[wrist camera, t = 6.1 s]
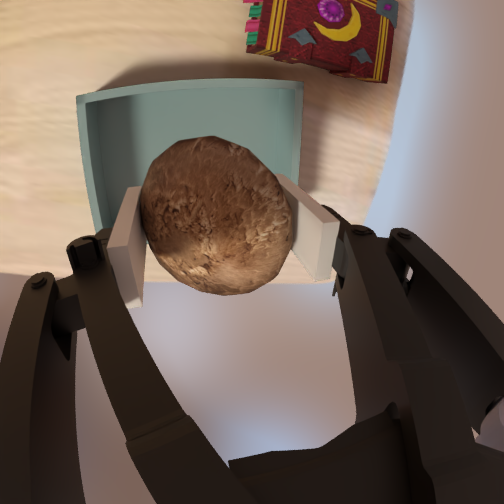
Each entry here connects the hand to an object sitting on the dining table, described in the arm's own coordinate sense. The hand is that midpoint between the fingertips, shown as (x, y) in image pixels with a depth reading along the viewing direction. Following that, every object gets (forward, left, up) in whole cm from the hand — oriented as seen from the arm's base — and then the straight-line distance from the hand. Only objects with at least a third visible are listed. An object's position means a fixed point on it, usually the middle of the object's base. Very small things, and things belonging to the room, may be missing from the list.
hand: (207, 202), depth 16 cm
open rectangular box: (0, 0, -15) cm, 15 cm away
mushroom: (0, 0, -1) cm, 1 cm away
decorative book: (+13, +15, -15) cm, 25 cm away
